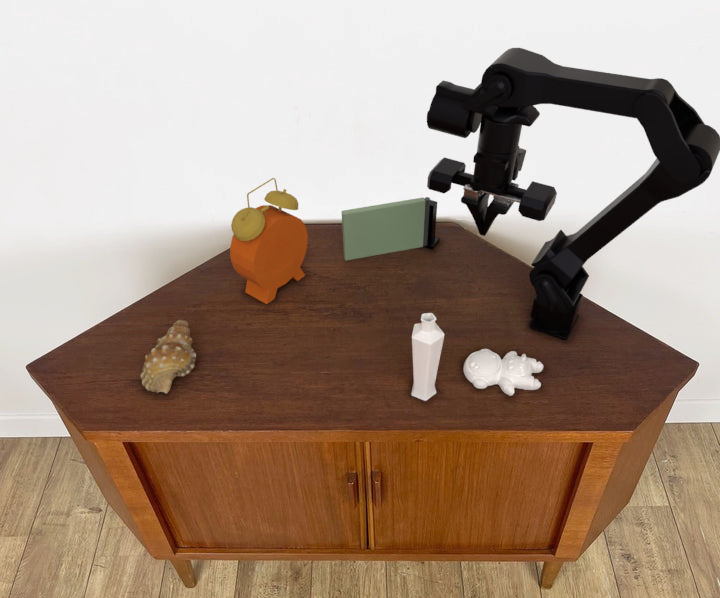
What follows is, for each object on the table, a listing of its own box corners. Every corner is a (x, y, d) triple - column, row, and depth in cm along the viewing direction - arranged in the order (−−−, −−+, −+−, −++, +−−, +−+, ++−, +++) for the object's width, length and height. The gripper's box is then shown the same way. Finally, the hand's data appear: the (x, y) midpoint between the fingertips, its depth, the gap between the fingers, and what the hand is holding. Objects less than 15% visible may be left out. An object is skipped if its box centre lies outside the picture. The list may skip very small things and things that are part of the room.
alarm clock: (287, 258, 125) (275, 162, 110) (312, 271, 122) (302, 173, 108) (236, 295, 118) (216, 197, 103) (261, 309, 115) (244, 210, 101)
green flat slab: (422, 236, 127) (425, 190, 120) (428, 246, 125) (430, 199, 118) (341, 250, 124) (338, 204, 117) (345, 260, 122) (343, 214, 115)
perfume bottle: (437, 404, 99) (444, 331, 88) (407, 400, 100) (411, 327, 89) (440, 381, 102) (447, 308, 92) (412, 378, 103) (416, 305, 92)
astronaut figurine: (536, 403, 99) (539, 390, 97) (457, 384, 102) (459, 370, 100) (545, 363, 105) (549, 349, 102) (470, 346, 108) (472, 332, 105)
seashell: (149, 373, 109) (152, 314, 106) (199, 378, 110) (203, 320, 107) (134, 393, 101) (136, 330, 98) (189, 399, 101) (192, 336, 98)
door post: (425, 237, 129) (427, 196, 122) (439, 241, 127) (442, 200, 121) (418, 245, 127) (420, 204, 120) (432, 249, 126) (435, 209, 119)
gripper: (578, 135, 97) (555, 224, 108) (459, 106, 103) (449, 193, 115) (554, 171, 90) (533, 262, 102) (429, 138, 97) (422, 227, 108)
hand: (483, 234), depth 107 cm, fingers closed
